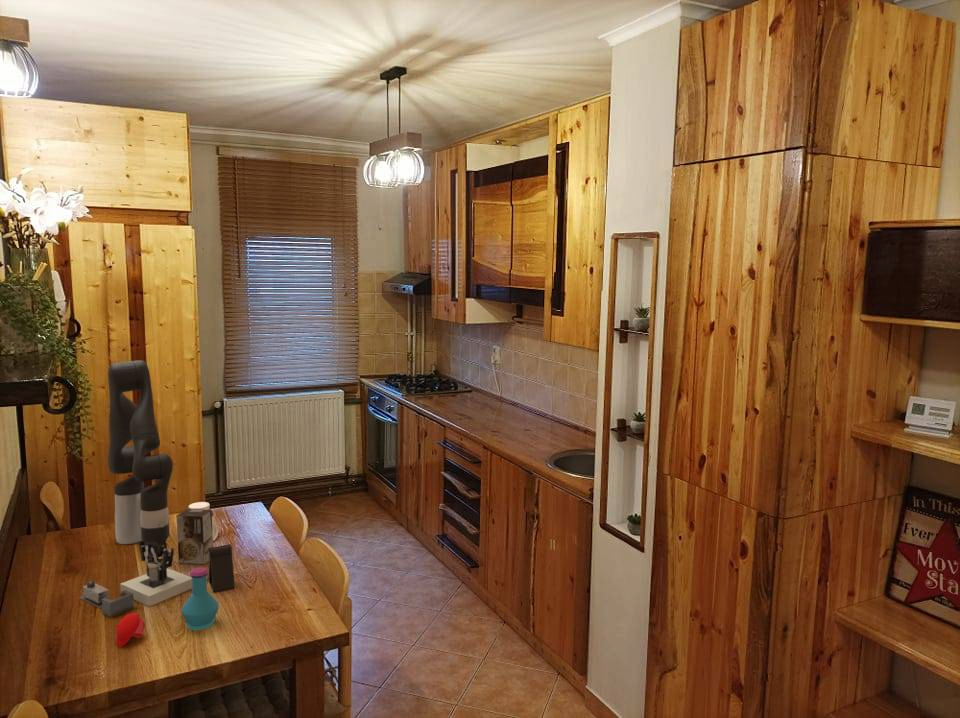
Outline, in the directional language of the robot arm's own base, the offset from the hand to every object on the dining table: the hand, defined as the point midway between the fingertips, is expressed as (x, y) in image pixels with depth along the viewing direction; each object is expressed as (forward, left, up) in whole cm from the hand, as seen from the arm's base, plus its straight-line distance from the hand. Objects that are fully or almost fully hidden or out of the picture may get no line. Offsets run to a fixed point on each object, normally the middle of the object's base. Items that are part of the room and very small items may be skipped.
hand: (157, 578), depth 201 cm
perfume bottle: (+27, -5, -4) cm, 28 cm away
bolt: (-9, -13, -4) cm, 16 cm away
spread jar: (-24, +33, -4) cm, 41 cm away
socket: (0, 0, -4) cm, 4 cm away
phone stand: (+12, +13, -4) cm, 18 cm away
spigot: (0, 0, -4) cm, 4 cm away
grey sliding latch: (-5, -13, -4) cm, 14 cm away
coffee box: (-10, +20, -4) cm, 23 cm away
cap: (+19, -20, -4) cm, 28 cm away
